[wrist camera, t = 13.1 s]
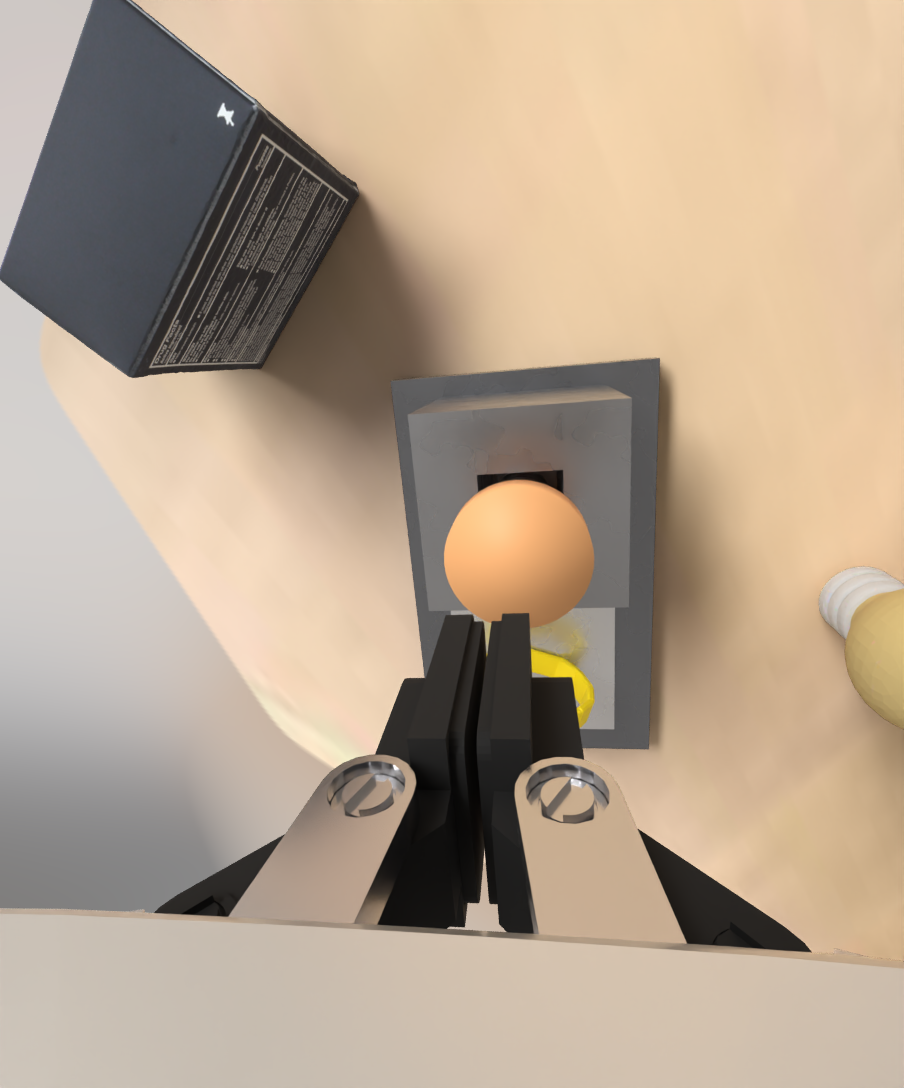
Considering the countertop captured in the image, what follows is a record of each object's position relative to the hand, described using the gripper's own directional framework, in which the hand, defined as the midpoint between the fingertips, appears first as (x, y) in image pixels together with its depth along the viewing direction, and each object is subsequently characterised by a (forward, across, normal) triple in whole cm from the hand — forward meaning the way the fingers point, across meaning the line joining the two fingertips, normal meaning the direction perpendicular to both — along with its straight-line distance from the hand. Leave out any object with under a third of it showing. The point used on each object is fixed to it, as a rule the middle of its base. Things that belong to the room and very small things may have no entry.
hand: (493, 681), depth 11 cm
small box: (+21, +12, -13) cm, 27 cm away
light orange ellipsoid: (+14, -1, -1) cm, 14 cm away
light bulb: (+21, -18, +7) cm, 28 cm away
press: (+21, -1, +5) cm, 21 cm away
